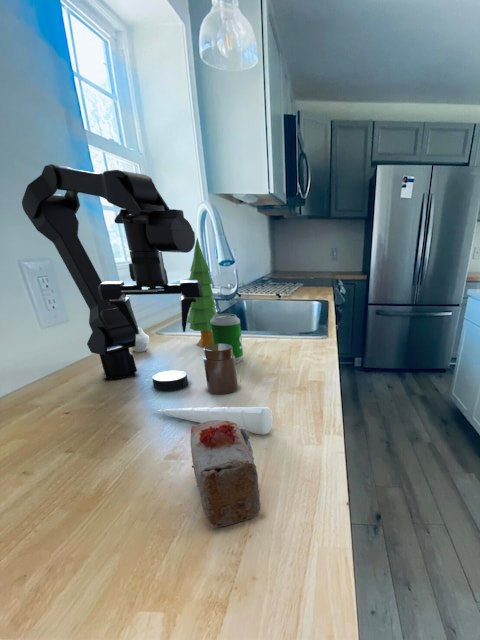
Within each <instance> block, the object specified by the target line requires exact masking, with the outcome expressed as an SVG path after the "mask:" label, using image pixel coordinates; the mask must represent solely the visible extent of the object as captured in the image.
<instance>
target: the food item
mask: <svg viewBox="0 0 480 640" xmlns="http://www.w3.org/2000/svg"><path fill="white" fill-rule="evenodd" d="M239 426H240V425H239ZM239 426H237V424H236V423H234V422H230V421H225V420H211V421H207V422H203V423H196V424H192V425H191V427H190V452H191V458H192V459H191V462H192V465H191V468H192V469H193V474H194V478H195V481H196V487H197V489H198V494H199V498H200V502H201V505H202V509H203V511H204V514H205V516H206V519H207V520H208V522H209V524H210V525H211V527H212V528H219V527H220V528H221V527H227V526H231V525H233V524H236V523H240V522H242V521H246V520H252V519H255V518H256V517H258V516H259V514H260V512H261V502H260V501H261V500H260V497H261V494H260V489H259V475H258V472H257V466H256V465H255V461H254V460H255V457H254V456H253V455H254V451H253V447H252V444H251V441H250V439H251V437H250V435H249V432H247V431H246V430H245V429H239V428H238V427H239Z"/></svg>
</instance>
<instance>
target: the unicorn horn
mask: <svg viewBox="0 0 480 640" xmlns="http://www.w3.org/2000/svg"><path fill="white" fill-rule="evenodd" d="M155 412H156V414H157V413H158V414H161V415H163V416H167V417H172V418H176V419H181V420H185V421H190V422H195V423H198V424H200V423H203V422H207V421H211V420H225V421H230V422H234V423H236V424H237V426H239V425H240V426H239V427H238V428H239V429H245V430H246V431H247V433H252V434H258V435H266V434H268V433H269V432H270V431H271V429H272V427H273V421H274V417H273V412H272V410H271V408H270V407H268V406H247V407H246V406H230V407H227V406H225V407H223V406H219V407H218V406H217V407H184V408H183V407H182V408H167V409H165V408H164V410H163V409H158V410H155Z"/></svg>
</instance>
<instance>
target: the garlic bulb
mask: <svg viewBox="0 0 480 640" xmlns="http://www.w3.org/2000/svg"><path fill="white" fill-rule="evenodd" d="M138 330H139V334H136V345H135V347H130V348H131V349H132V350H133V352H136V353H141V352H146V350H147V348H148V346H149V343H150V337H149V335H148V334H147V333H145V332H144V331H143V330H144V329H142V327H140V326H138Z"/></svg>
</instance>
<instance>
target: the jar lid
mask: <svg viewBox="0 0 480 640" xmlns="http://www.w3.org/2000/svg"><path fill="white" fill-rule="evenodd" d="M151 379H152V385H153V388H154V389H155V391H158V392H175V391H179V390H183V389H184V388H186V387H188V385H189V380H188V375H187V373H186V372H185V371H183V370H164V371H160V372H156V373H154V374H153V375H152V376H151Z"/></svg>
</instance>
